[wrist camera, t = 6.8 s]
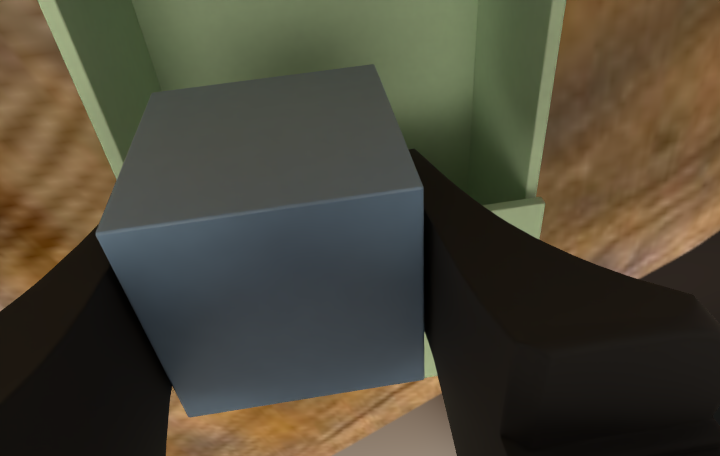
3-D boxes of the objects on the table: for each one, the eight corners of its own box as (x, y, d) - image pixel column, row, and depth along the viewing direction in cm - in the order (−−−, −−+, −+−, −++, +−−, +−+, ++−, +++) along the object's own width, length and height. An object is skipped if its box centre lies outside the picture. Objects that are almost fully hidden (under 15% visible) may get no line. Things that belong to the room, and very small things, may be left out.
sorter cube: (385, 232, 15) (424, 380, 11) (209, 258, 14) (187, 418, 11) (374, 63, 12) (424, 187, 8) (150, 91, 11) (93, 233, 8)
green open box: (90, -92, 17) (1, -38, 11) (493, -138, 17) (601, -109, 12) (222, 288, 27) (210, 414, 22) (469, 251, 28) (519, 363, 22)
